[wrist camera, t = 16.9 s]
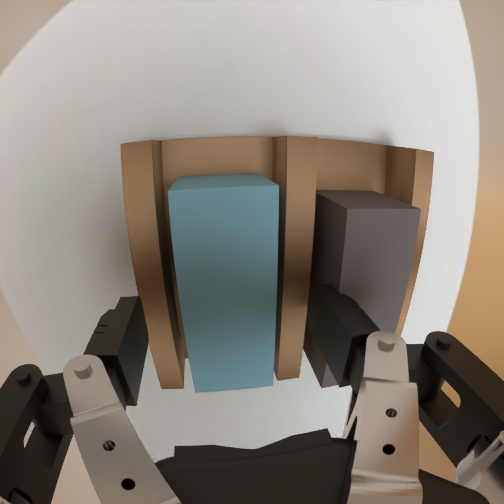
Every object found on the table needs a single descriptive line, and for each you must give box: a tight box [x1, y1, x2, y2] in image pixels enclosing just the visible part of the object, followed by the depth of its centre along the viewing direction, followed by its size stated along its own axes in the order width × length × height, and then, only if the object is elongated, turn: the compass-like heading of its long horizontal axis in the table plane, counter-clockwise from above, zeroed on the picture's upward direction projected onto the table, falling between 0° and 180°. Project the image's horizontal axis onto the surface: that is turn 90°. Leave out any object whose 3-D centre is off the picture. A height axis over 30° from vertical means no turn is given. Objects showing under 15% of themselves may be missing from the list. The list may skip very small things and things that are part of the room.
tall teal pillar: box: [168, 173, 279, 393], centre depth 13 cm, size 9×4×4 cm, turn 0°
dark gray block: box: [303, 190, 421, 388], centre depth 14 cm, size 9×4×4 cm, turn 0°
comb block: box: [121, 136, 434, 389], centre depth 14 cm, size 12×14×4 cm
